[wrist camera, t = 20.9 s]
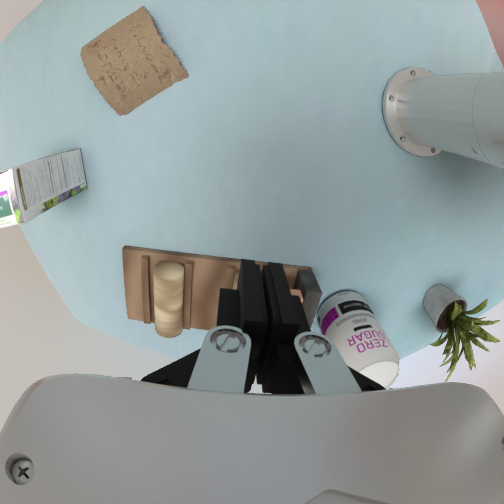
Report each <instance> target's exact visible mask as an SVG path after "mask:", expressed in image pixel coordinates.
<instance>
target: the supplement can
mask: <svg viewBox="0 0 504 504" xmlns="http://www.w3.org/2000/svg"><path fill="white" fill-rule="evenodd" d="M317 319H318V324H319V327H320V330H321V333H322V334H323V335H325V336H327V337H328V338H329V339H331V340H332V342H333V343H334V344H335V346H336V348H337V349H338V351H339V353H340V354H341V356H342V358H343V359H344V361H345V363H346V365H347V366H349V367H351V368H352V369H354V370H356V371H358V372H359V373H361V374H363V375H364V376H366V377H368V378H370V379H371V380H373V381H375V382H377V383H379V384H380V385H382V386H383V387H384V388H385V389H387V388H388V387H389V386H390V385H392V384H393V383H394V381H395V380H396V378H397V377H398V375H399V357H398V354H397V352H396V351H395V349H394V347H393V345H392V344H391V342H390V340H389V339H388V337H387V335H386V334H385V332H384V330H383V329H382V327H381V325H380V324H379V322H378V320H377V319H376V317H375V315H374V314H373V312H372V310H371V309H370V307H369V306H368V304H367V302H366V301H365V299H364V298H363V296H361V295H360V294H358V293H356V292H351V291H346V292H340V293H338V294H335V295H333V296H331V297H330V298H329V299H327V300H326V301H325V302H324V303H323V305H322V306H321V307H320V309H319V312H318V316H317Z"/></svg>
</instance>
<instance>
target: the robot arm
mask: <svg viewBox="0 0 504 504" xmlns="http://www.w3.org/2000/svg"><path fill="white" fill-rule="evenodd" d="M410 73H411V74H410ZM388 97H389V98H390V100H389V98H388ZM382 108H383V116H384V119H385V123H386V126H387V128H388V130H389V132H390V134H391V136H392V137H393V139H394V140H395V141H396V142H397V144H398V145H399V146H400V147H402V148H403V149H404V150H406V151H407V152H409V153H411V154H414V155H417V156H422V157H429V156H434V155H437V154H439V153H440V152H442V151H447V152H451V153H454V154H458V155H461V156H465V157H468V158H472V159H475V160H478V161H481V162H484V163H487V164H490V165H493V166H496V167H499V168H502V169H504V73H468V74H453V75H442V76H436V75H434V74H433V73H431V72H430V71H427V70H425V69H422V68H408V69H404V70H401V71H399V72H397V73H396V74H395V75H394V76H393V77H391V79H390V80H389V82H388V83H387V85H386V88H385V90H384V95H383V106H382ZM400 137H401V139H400ZM255 376H256V378H257V384H262V391H263V393H271V394H255V393H248V392H249V391H250V390H251V386H252V384H253V383H254V380H255ZM0 504H504V416H503V414H502V412H501V411H500V409H499V408H498V406H497V405H496V403H495V402H494V401H493V399H492V398H491V397H490V396H489V394H488V393H487V392H486V391H485V390H483V389H482V388H480V387H477V386H474V385H471V384H466V383H456V382H449V383H436V384H428V385H420V386H413V387H405V388H396V389H393V388H389V389H387V390H386V389H385V388H384V387H383V386H382V385H380V384H379V383H377V382H375V381H373V380H371V379H370V378H368V377H366V376H364V375H363V374H361V373H359V372H358V371H356V370H354V369H352V368H351V367H349V366H347V365H346V363H345V361H344V359H343V358H342V356H341V354H340V353H339V351H338V349H337V348H336V346H335V344H334V343H333V342H332V340H331V339H329V338H328V337H327V336H325V335H323V334H320V333H317V332H311V330H310V327H309V324H308V320H307V317H306V314H305V311H304V308H303V305H302V302H301V299H300V297H299V296H298V295H291V292H290V288H289V285H288V281H287V278H286V275H285V271H284V268H283V265H282V264H281V263H272V262H269V263H268V265H263V267H262V272H261V270H260V265H259V264H255V261H254V260H246V259H241V264H240V270H239V277H238V284H237V290H236V289H227V288H220V292H219V301H218V311H217V321H216V327H215V328H212V329H211V330H209V331H208V333H207V334H206V336H205V339H204V341H203V344H202V347H201V348H200V349H198V350H197V351H195V352H193V353H191V354H189V355H187V356H185V357H183V358H181V359H179V360H177V361H175V362H173V363H171V364H169V365H167V366H165V367H163V368H161V369H159V370H157V371H155V372H153V373H151V374H148V375H147V376H145V377H144V378H142V380H141V381H136V380H132V378H127V377H126V378H125V377H124V378H123V377H121V378H120V377H111V376H104V375H95V374H60V375H54V376H49V377H45V378H43V379H40V380H38V381H36V382H35V383H33V384H32V385H31V386H30V387H29V388H28V389H27V390H26V391H25V392H24V393H23V395H22V396H21V398H20V399H19V400H18V402H17V403H16V404H15V406H14V408H13V409H12V411H11V413H10V415H9V416H8V418H7V420H6V422H5V424H4V427H3V428H2V431H1V433H0Z"/></svg>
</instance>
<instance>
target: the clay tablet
mask: <svg viewBox="0 0 504 504" xmlns="http://www.w3.org/2000/svg"><path fill="white" fill-rule="evenodd" d="M146 11H147V9H145V8H144V6H143V7H141V8H139V9H138V10H137V11H135V12H133V13H132V14H130V15H129V16H127V17H126V18H124V19H122V20H121V21H119V22H118V23H116V24H115V25H113V26H112V27H110V28H109V29H107V30H106V31H104V32H103V33H101V34H100V35H99V36H97V37H96V38H95V39H93V40H92V41H90V42H89V43H88V44H86V45H85V46H83V47H82V49H81V57H82V61H83V63H84V66H85V68H86V70H87V73H88V75H89V77H90V79H91V80H93V82H94V85H95V86H96V88H97V89H98V90H99V93H100V94H101V95H102V96H103V97H104V99H105V100H106V102H107V103H108V104H109V105H110V106H111V107H112V108H113V109H114V110H116V112H117V114H119V115H120V116H121V115H127V114H129V113H130V112H131V111H133V110H134V109H135V108H137V107H138V106H140V105H141V104H143V103H144V102H145V101H147V100H149V99H151V98H152V97H154V96H155V95H157V94H158V93H160V92H161V91H163V90H165V89H166V88H168V87H170V86H171V85H173V84H174V83H175V82H178V81H181V80H183V79H185V78H188V73H187V72H186V71H185V70H184V69H183V66H181V65H180V62H179V61H178V58H177V57H175V56H174V54H173V52H172V51H171V50H170V48H169V47H168V46H166V45H165V44H164V43H162V41H161V37H160V36H159V34H158V33H157V29H156V28H155V26H154V25H153V24H154V22H153V21H152V18H151V17H150V15H149V13H148V12H146Z"/></svg>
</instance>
